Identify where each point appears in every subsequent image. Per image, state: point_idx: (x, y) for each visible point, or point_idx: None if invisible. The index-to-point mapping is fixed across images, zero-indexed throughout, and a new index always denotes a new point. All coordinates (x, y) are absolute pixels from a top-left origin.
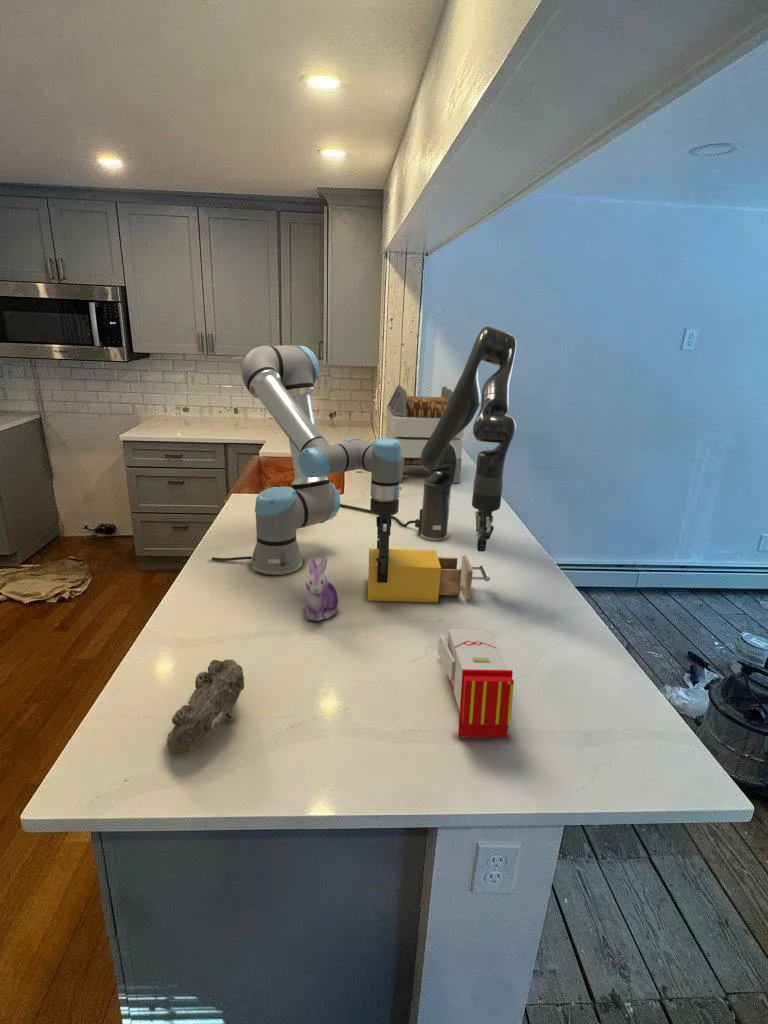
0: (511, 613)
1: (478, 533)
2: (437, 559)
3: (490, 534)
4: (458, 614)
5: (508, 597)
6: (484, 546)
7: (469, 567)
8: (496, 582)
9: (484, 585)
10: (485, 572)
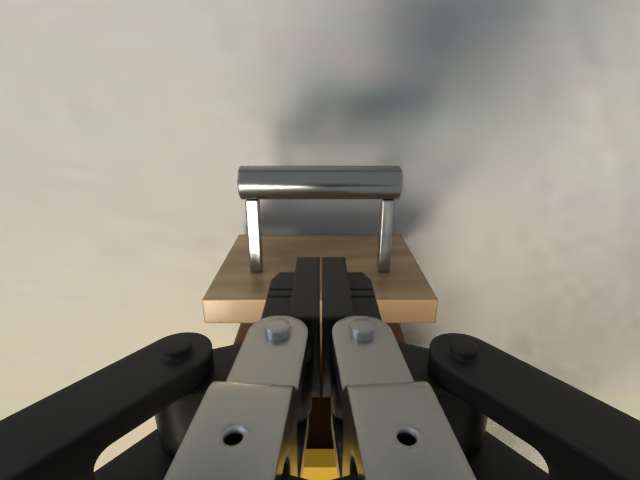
0: (509, 57)
1: (304, 438)
2: (330, 472)
3: (637, 433)
4: (490, 283)
5: (353, 31)
6: (375, 298)
7: (385, 309)
8: (192, 60)
9: (235, 132)
10: (342, 186)
